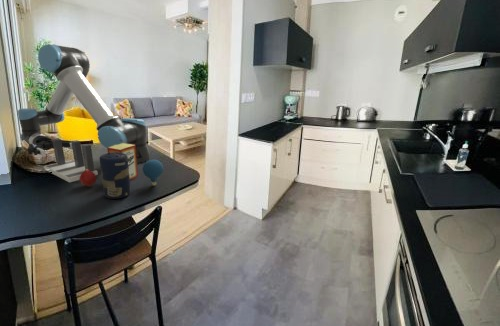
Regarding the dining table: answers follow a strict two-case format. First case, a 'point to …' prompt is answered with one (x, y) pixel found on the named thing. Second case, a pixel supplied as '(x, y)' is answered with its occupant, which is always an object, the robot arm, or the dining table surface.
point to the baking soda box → (131, 154)
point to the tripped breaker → (58, 151)
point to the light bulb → (153, 170)
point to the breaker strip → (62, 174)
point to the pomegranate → (88, 178)
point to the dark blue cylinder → (115, 175)
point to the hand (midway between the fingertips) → (61, 150)
